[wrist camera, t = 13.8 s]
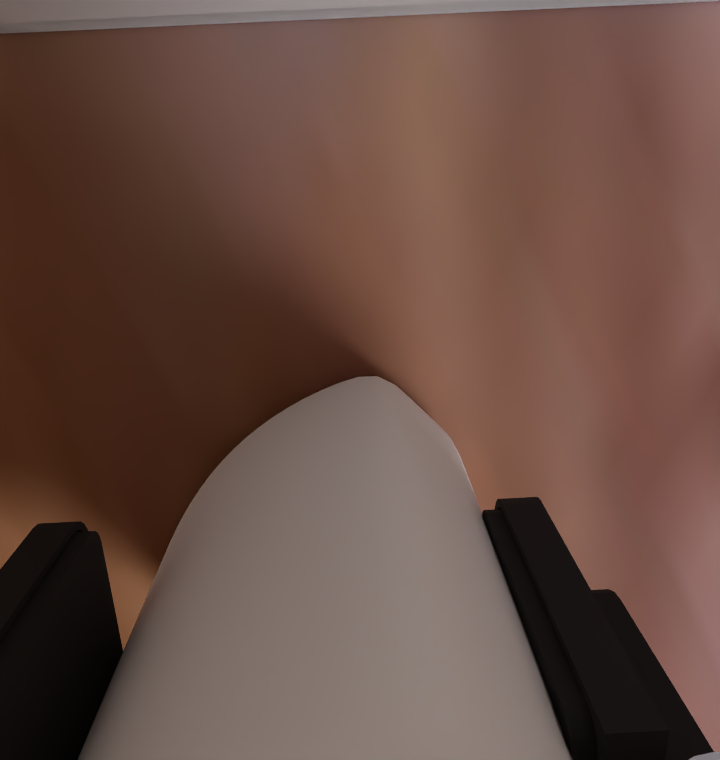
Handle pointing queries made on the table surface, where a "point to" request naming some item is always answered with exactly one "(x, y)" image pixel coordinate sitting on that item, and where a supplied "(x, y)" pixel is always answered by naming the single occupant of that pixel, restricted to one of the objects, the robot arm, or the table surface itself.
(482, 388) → the table surface
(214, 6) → the box
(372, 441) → the eye dropper bottle
